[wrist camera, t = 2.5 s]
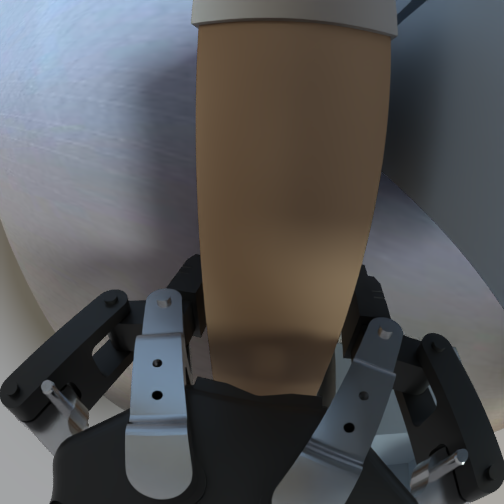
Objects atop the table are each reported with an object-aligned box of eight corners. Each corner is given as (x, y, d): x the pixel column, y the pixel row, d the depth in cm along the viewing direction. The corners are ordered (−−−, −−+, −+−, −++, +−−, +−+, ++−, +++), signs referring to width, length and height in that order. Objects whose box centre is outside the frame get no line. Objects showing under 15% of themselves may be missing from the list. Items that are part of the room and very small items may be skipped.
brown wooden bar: (354, 37, 7) (393, -21, 3) (297, 388, 18) (288, 458, 13) (248, 29, 8) (196, -30, 3) (240, 380, 18) (221, 447, 14)
